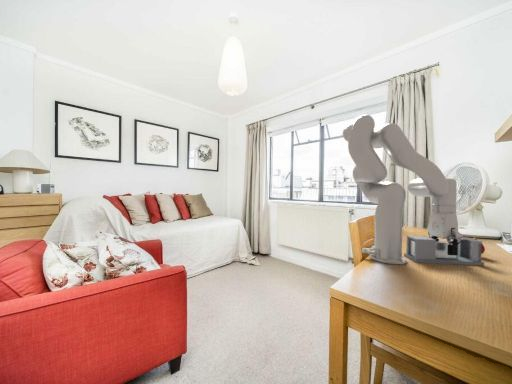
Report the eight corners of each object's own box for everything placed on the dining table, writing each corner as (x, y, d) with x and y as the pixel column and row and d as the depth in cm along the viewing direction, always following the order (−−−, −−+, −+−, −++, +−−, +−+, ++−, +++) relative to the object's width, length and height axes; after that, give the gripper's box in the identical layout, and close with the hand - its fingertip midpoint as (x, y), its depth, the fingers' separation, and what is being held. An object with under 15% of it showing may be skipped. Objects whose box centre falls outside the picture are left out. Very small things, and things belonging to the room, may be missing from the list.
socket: (472, 261, 82) (472, 241, 82) (458, 255, 88) (458, 237, 88) (481, 261, 82) (482, 241, 81) (466, 256, 88) (467, 237, 88)
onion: (488, 258, 89) (489, 239, 89) (474, 258, 89) (475, 239, 89) (474, 254, 95) (475, 236, 95) (461, 254, 95) (462, 236, 95)
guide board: (415, 262, 84) (416, 239, 84) (404, 255, 92) (404, 235, 91) (484, 265, 81) (484, 241, 81) (466, 258, 89) (466, 237, 89)
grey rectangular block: (415, 257, 86) (416, 242, 86) (410, 254, 89) (410, 239, 89) (458, 258, 84) (458, 243, 84) (450, 256, 87) (451, 241, 87)
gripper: (419, 207, 95) (419, 245, 95) (450, 211, 78) (449, 258, 78) (438, 207, 94) (437, 246, 94) (473, 211, 77) (472, 258, 77)
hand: (442, 251), depth 86 cm, fingers open, 9 cm apart
